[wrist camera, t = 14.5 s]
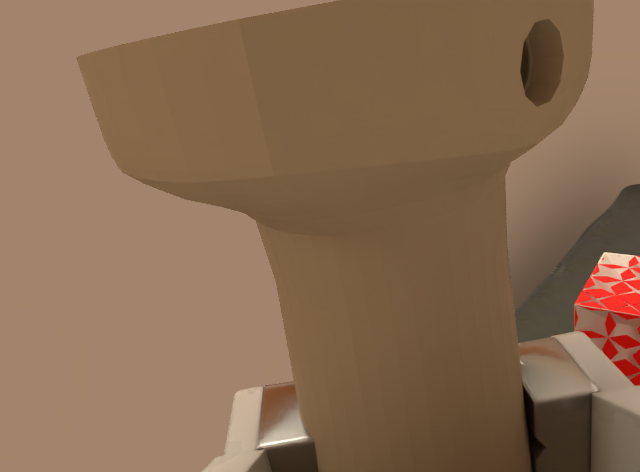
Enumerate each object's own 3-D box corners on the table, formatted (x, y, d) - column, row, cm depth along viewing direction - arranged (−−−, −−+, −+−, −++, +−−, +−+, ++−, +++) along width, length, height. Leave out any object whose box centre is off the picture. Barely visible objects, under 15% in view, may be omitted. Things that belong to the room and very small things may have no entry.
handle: (279, 754, 12) (29, 69, 6) (453, 555, 15) (386, 5, 10) (458, 1034, 8) (230, 13, 3) (631, 690, 12) (678, -56, 6)
